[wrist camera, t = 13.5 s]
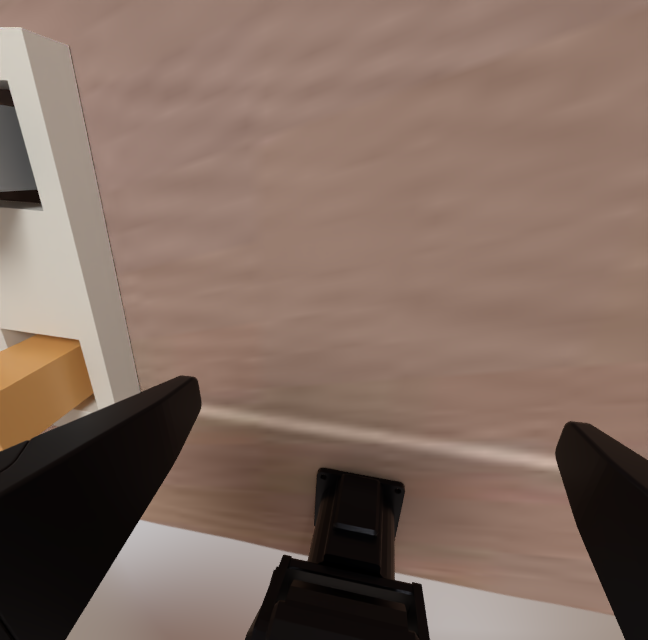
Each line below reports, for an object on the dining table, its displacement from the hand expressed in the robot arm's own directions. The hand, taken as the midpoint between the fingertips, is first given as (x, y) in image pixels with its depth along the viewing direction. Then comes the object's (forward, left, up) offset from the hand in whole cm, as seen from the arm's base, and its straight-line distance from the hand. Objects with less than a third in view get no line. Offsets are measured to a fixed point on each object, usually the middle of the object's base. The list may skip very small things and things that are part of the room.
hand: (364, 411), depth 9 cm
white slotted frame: (-2, +22, -12) cm, 25 cm away
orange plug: (-9, +22, -12) cm, 26 cm away
